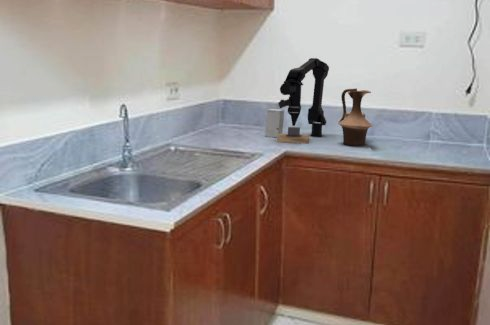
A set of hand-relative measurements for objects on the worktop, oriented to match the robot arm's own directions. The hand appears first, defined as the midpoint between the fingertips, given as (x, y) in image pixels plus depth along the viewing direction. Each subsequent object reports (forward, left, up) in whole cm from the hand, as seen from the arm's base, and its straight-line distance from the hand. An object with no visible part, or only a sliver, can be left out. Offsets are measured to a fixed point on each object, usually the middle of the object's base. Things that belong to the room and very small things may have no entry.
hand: (293, 124), depth 260 cm
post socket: (0, 0, -8) cm, 8 cm away
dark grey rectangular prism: (0, 0, -8) cm, 8 cm away
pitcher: (+4, +31, -8) cm, 32 cm away
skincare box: (-12, -11, -8) cm, 18 cm away
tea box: (-9, +32, -8) cm, 34 cm away
